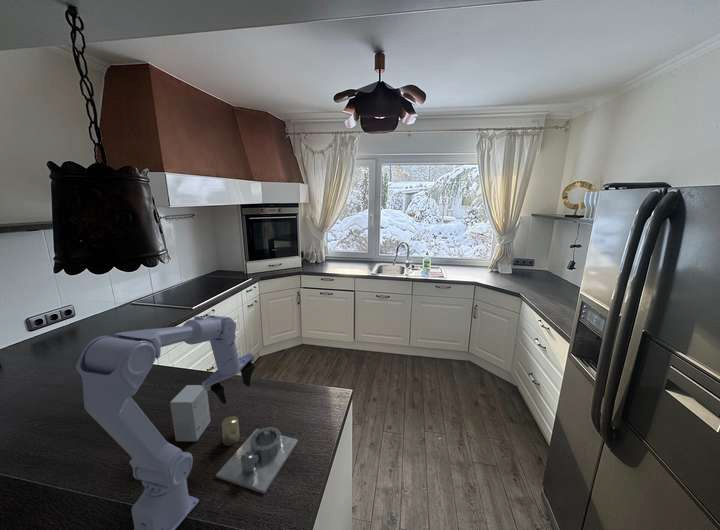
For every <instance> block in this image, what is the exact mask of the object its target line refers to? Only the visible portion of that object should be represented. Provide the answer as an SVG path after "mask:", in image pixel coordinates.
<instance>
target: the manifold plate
mask: <svg viewBox="0 0 720 530" xmlns="http://www.w3.org/2000/svg"><path fill="white" fill-rule="evenodd" d="M298 442H299V439H296V438H293V437H290V436H286V435H282V432H281V431H280V430H279V428H277V427H274V426H268V427H262V428H255V430H253V432H252V433H251V434H250V435H249V437H248V438H246V439H245V441H244V442H243V444H241V446H240V447H239V448H238V449H237V450H236V451H235V453H234V454H233V455H232V456H231V457H230V458H229V459H228V460H227V462H225V464H224V465H223V466H222V467H221V469H220V470H219V471H218V472H217V473H216V475H215V476H216V478H218V479H221V480H223V481H226V482H229V483H232V484H235V485H239V486H241V487H244V488H246V489H249V490H252V491H255V492H258V493H260V494H266V492H267V490H268V488H269V487H270V486H271V485H272V483H273V481H274V480H275V478H276V476H277V475H278V473H279V472H280V470H281V468H282V467H283V466H284V464H285V463H286V461H287V459H288V458H289V456H290V455H291V453H292V452H293V450H294V449H295V448H296V445H297V444H298Z"/></svg>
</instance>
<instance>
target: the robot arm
mask: <svg viewBox="0 0 720 530" xmlns="http://www.w3.org/2000/svg"><path fill="white" fill-rule="evenodd" d="M236 330H237V322H235V321H234V320H233V318H232V317H228V316H220V315H219V316H218V315H214V314H213V315H210V314H209V315H207V316H206V317H204V316H199V315H197V316H194V318H193V319H188V320H186V321H185V322H184V323H183V324H182V326H170V327H169V326H168V327H160V328H149V329H140V330H138V329H137V330H129V331H122V332H117V333H114V334H113V335H115V336H116V337H115V336H111V335H101V336H98V337H96V338H94V339H92V340H91V341H90V342H89V343H87V344H86V345H85V347H84V348H83V350H82V351H81V354H80V356H79V359H78V360H77V362H76V365H75V369H76V371H77V372H78V374H79V375H80V376H81V379H82V394H83V402H84V403H83V405H84V409H85V411H86V412H87V413H88V414H89V415H90V416H91V417H92V418H93V419H94V420H95V421H96V422H97V423H98V425H100V427H102V428H103V429H104V430H105V431H106V433H108V435H110V437H111V438H112V439H113V440H114V441H115V442H116V443H118V445H119V446H120V447H121V448H122V449H123V450H124V451H125V452H126V453H127V455H129V456H130V458H131V459H130V461H129V465H130V466H131V469H132V474H133V478H135V480H138V481H141V483H142V486H143V487H144V490H143V492H142V494H141V495H140V497H139V498H138V500H137V501H136V502H135V503H134V504H133V505H132V507H131V515H132V516H131V517H132V521H133V527H134V529H133V530H176V529H177V528H178V527H179V526H180V525H181V524H182V522H183V521H184V520H185V519H186V517H188V515H189V514H191V513H190V512H192V510H193V509H194V508H195V507H196V506H197V505H198V504H199V501H200V499H199V498H197V497H194V496H191V495H190V494H189V489H188V482H187V478H188V477H189V476H190V473H191V471H192V467H193V460H194V457H193V455H192V453H190V452H189V451H188V452H187V451H183V450H182V449H181V448H180V447H177V446H176V445H173V444H172V443H170V442H168V441H167V440H166V439H165V437H164V436H163V435H162V434H161V433H160V431H159V430H158V429H157V428H156V426H155V425H154V424H153V422H152V421H151V420H150V419H149V417H148V416H147V415H146V414H145V413H144V411H143V410H142V409H141V407H140V406H139V405H138V404H137V403H136V401H135V400H134V399H133V396H134V395H136V393H137V392H138V391H139V388H140V387H141V385H142V384H143V383H144V381H145V379H146V377H147V375H148V374H149V372H150V371H151V369H152V367H153V366H154V363H155V360H156V359H159V358H160V357H161V354H162V353H161V352H162V351H161V348H164V347H167V346H171V345H175V344H178V343H182V342H184V343H186V344H187V345H192V346H193V345H197V344H201V343H205V342H206V343H207V342H209V343H210V346H211V350H212V354H213V358H214V361H215V365H216V370H215V371H214V372H213V373H212V374H211V375H210V376H209V377H208V378H206V380H204V381H203V382H202V383H201V385H203V388H204V389H205V390H206V391H207V392H209V391H211V392H213V393H214V394H215V395H216V396H217V398H218V400H219V401H220V403H221V404H223V405H225V404H226V403H227V399H226V396H225V387H224V386H223V385H222V384H221V383H220V382H222V381H225V380H227V379H230V378H233V377H235V376H236V375H237V374H238V373H239V372H240V374H241V378H242V383H243V384H244V385H245V386H246V387H247V388H249V387H250V386H251V379H252V375H253V371H254V369H255V364H254V363H253V362H254V361H255V355H254V354H252V353H249V352H248V353H247V354H245V355H243V356H241V357H240V356H239V354H238V350H237V345H236V341H235V340H236V337H237V335H236Z"/></svg>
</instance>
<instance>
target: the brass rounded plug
mask: <svg viewBox="0 0 720 530" xmlns="http://www.w3.org/2000/svg"><path fill="white" fill-rule="evenodd" d="M221 431H222V443H223V444H224V445H225V446H232V445H235V444H237V443H238V442H239V440H240V436H241V435H240V425H239V417H237V416H235V415H229V416H228V417H225V418H224V419H223V420H222V422H221Z"/></svg>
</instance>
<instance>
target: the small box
mask: <svg viewBox="0 0 720 530" xmlns="http://www.w3.org/2000/svg"><path fill="white" fill-rule="evenodd" d="M169 404H170V411H171V417H172V425H173V432H174V438H175V442H198V440H199V439H200V438H201V436H202V435H203V433H204V432H205V430H206V429H207V428H208V426H209V425H210V424H211V421H212V420H211V414H210V412H211V411H210V406H209V395H208V391H206V390H205V389H204V388H203V385H202V384H201V385H200V384H192V385H191V384H189V385H188V384H187V385H185V387H183V388H182V389H181V391H179V393H178V394H177V395H176V396H174V397H173V398H172V399H171V401H170V403H169Z"/></svg>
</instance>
